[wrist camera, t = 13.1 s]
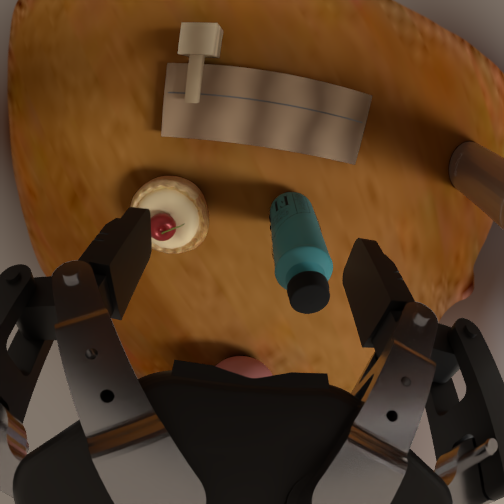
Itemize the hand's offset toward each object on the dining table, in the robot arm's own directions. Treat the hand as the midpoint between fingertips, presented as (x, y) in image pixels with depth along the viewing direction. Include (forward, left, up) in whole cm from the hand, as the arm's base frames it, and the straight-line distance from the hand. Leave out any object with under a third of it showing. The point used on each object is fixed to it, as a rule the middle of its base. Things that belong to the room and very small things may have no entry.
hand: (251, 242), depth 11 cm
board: (-1, -2, -30) cm, 30 cm away
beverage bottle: (-7, +12, -30) cm, 33 cm away
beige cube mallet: (+8, -7, -30) cm, 32 cm away
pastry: (+10, +14, -30) cm, 35 cm away
